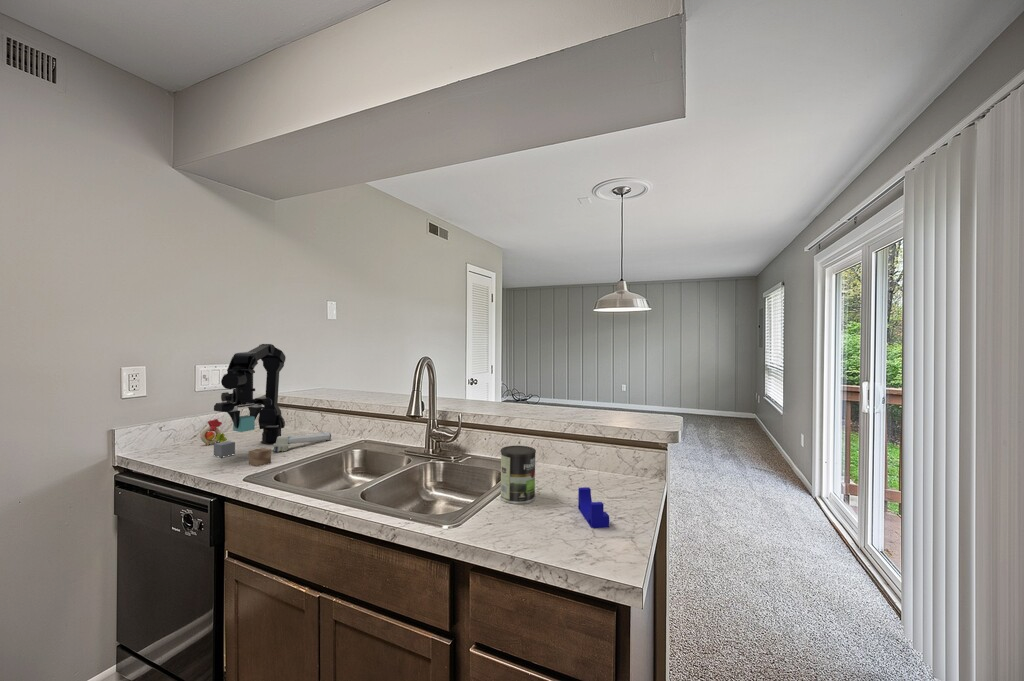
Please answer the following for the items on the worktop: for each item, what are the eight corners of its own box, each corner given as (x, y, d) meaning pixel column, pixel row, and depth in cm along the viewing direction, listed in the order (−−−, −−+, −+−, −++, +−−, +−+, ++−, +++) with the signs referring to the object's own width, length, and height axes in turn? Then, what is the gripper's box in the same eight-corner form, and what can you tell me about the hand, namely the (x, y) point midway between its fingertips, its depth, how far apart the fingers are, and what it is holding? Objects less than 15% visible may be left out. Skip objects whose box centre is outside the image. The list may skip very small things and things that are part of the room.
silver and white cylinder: (332, 432, 188) (279, 435, 166) (330, 447, 187) (277, 452, 166) (325, 430, 191) (271, 433, 169) (323, 445, 190) (269, 450, 168)
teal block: (246, 428, 163) (246, 415, 163) (254, 429, 161) (254, 416, 160) (233, 430, 158) (233, 417, 158) (241, 432, 156) (241, 418, 156)
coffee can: (541, 495, 124) (542, 448, 124) (523, 507, 115) (524, 456, 115) (512, 488, 130) (512, 443, 130) (493, 499, 121) (493, 450, 121)
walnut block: (262, 461, 156) (262, 447, 156) (270, 463, 153) (271, 449, 153) (248, 464, 151) (249, 450, 151) (257, 466, 149) (257, 452, 149)
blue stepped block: (609, 528, 104) (609, 504, 104) (591, 528, 103) (591, 504, 103) (594, 508, 116) (594, 487, 116) (578, 509, 115) (578, 487, 115)
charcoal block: (227, 453, 165) (227, 440, 165) (234, 455, 163) (235, 442, 163) (213, 456, 161) (213, 443, 161) (221, 458, 159) (221, 445, 159)
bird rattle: (211, 451, 175) (233, 438, 183) (200, 429, 171) (222, 417, 179) (204, 449, 178) (225, 437, 186) (192, 427, 174) (214, 415, 182)
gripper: (255, 382, 171) (255, 420, 171) (205, 387, 154) (205, 429, 155) (272, 384, 166) (272, 423, 166) (223, 389, 150) (222, 432, 150)
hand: (244, 426), depth 159 cm, fingers closed on teal block, 5 cm apart
